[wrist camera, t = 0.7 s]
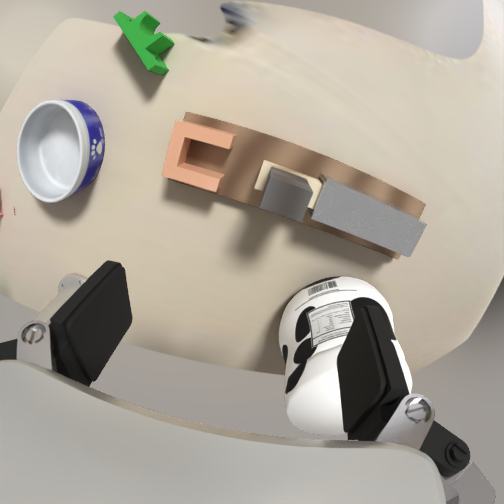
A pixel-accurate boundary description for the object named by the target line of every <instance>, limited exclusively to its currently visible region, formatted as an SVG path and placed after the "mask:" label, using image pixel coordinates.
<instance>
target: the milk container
mask: <svg viewBox="0 0 504 504" xmlns="http://www.w3.org/2000/svg"><path fill="white" fill-rule="evenodd" d="M365 305H368V306H376V307H379V308H380V311H381V313H382V316H383V319H384V321H385V324H386V327H387V330H388V332H389V335H390V338H391V341H392V342H393V344H394V346H395V349H396V352H397V355H398V358H399V361H400V364H401V367H402V370H403V373H404V376H405V380H406V383H407V386H408V390H409V393H410V394H411V388H412V379H411V375H410V370H409V368H408V365H407V364H406V362H405V357H404V354H403V351H402V349H401V347H400V345H399V343H398V341H397V339H396V336H395V332H394V320H393V316H392V312H391V309H390V307H389V305H388V303H387V302H386V300H385V299H384V297H383V296H382V295H381V294H380V293H379V292H378V291H377V290H376V289H375V288H374V287H373V286H372V285H370V284H369V283H367V282H365V281H363V280H360V279H357V278H352V277H346V276H339V277H329V278H325V279H321V280H319V281H316V282H314V283H312V284H310V285H308V286H306V287H305V288H303V289H302V290H301V291H300V292H298V293H297V294H296V295H295V296H294V297H293V298H292V299H291V301H290V302H289V303H288V305H287V306H286V308H285V310H284V313H283V316H282V319H281V322H280V328H279V344H280V349H281V352H282V355H283V358H284V360H285V364H286V369H285V389H286V390H285V406H286V411H287V414H288V417H289V419H290V421H291V423H292V424H293V425H295V426H296V427H298V428H299V429H301V430H302V431H306V432H310V433H313V434H317V435H342V434H347V433H345V432H344V430H343V419H342V408H341V398H340V388H339V379H338V371H337V356H338V354H339V352H340V349H341V347H342V345H343V343H344V341H345V339H346V337H347V334H348V332H349V330H350V328H351V325H352V323H353V321H354V318H355V316H356V314H357V311H358V310H359V309H360V308H363V307H364V306H365Z"/></svg>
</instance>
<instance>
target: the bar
mask: <svg viewBox="0 0 504 504" xmlns="http://www.w3.org/2000/svg"><path fill="white" fill-rule="evenodd" d="M323 185H324V182H323V181H320V180H318V179H315V178H313V177H310V176H307V175H305V174H302V173H299V172H297V171H294V170H291V169H289V168H286V167H283V166H280V165H277V164H274V163H271V162H269V161H266V160H264V162H263V164H262V167H261V170H260V173H259V176H258V179H257V182H256V185H255V189H258V190H261V191H263V193H262V198H261V202H260V207H259V208H261V209H264V210H267V211H270V212H273V213H275V214H278V215H281V216H284V217H287V218H290V219H293V220H295V221H298V222H302V219H303V217H304V215H305V212H306V210H307V207H309V208H311V209H314V207H315V205H316V202H317V200H318V197H319V195H320V192H321V190H322V187H323Z"/></svg>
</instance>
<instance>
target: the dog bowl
mask: <svg viewBox="0 0 504 504" xmlns="http://www.w3.org/2000/svg"><path fill="white" fill-rule="evenodd" d="M104 150H105V137H104V131H103V127H102V124H101V121H100V119H99V117H98V115H97V113H96V112H95V111H94V110H93V109H92V108H91V107H90V106H89V105H88V104H86V103H84V102H81V101H76V100H48V101H45V102H42V103H40V104H39V105H37V106H36V107H35V108H34V109H33V110H32V111H31V112H30V113H29V114H28V116H27V117H26V119H25V121H24V123H23V125H22V127H21V130H20V133H19V137H18V143H17V162H18V168H19V171H20V175H21V177H22V180H23V182H24V184H25V186H26V187H27V189H28V190H29V191H30V192H31V194H33V195H34V196H35V197H36V198H37V199H39V200H41V201H43V202H47V203H55V202H59V201H61V200H63V199H65V198H67V197H69V196H71V195H73V194H75V193H77V192H78V191H80V190H82V189H83V188H85V187H87V186H88V185H89V184H90V183H91V182H92V181H93V180H94V178H95V177H96V175H97V174H98V172H99V169H100V167H101V164H102V161H103V156H104Z"/></svg>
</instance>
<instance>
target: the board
mask: <svg viewBox="0 0 504 504" xmlns="http://www.w3.org/2000/svg"><path fill="white" fill-rule="evenodd" d="M183 121H188V122H192V123H196V124H200V125H204V126H207V127H211V128H215V129H218V130H222V131H226V132H229V133H232V134H236V135H237V137H236V140H235V143H234V146H233V148H231V149H226V148H223V147H220V146H216V145H213V144H209V143H206V142H202V141H198V140H195V139H191V142H190V146H189V149H188V153H187V157H186V160H185V163H187V164H191V165H194V166H198V167H201V168H204V169H208V170H211V171H214V172H218V173H221V174H224V178H223V182H222V185H221V187H220V188H219V189H218V191H217V192H214V191H210V190H207V189H204V188H201V187H198V186H194V185H191V184H188V183H184V182H181V181H178V180H174V179H171V178H168V179H169V180H172V181H176V182H179V183H182V184H186V185H189V186H192V187H196V188H199V189H202V190H205V191H209V192H212V193H215V194H218V195H221V196H224V197H227V198H230V199H234V200H237V201H240V202H243V203H246V204H249V205H252V206H255V207H258V208H259V207H260V202H261V198H262V193H263V191H261V190H258V189H255V185H256V182H257V179H258V176H259V173H260V170H261V167H262V164H263V162H264V160H266V161H269V162H271V163H274V164H277V165H280V166H283V167H286V168H289V169H291V170H294V171H297V172H299V173H302V174H305V175H307V176H310V177H313V178H315V179H318V180H320V181H322V180H321V178H320V175H321V173H323V174H326V175H328V176H331V177H333V178H335V179H338V180H340V181H343V182H345V183H347V184H350V185H352V186H354V187H357V188H359V189H361V190H363V191H366V192H368V193H370V194H372V195H374V196H377V197H379V198H381V199H383V200H385V201H387V202H389V203H391V204H394V205H396V206H398V207H400V208H402V209H404V210H406V211H408V212H410V213H412V214H414V215H415V216H417V217H418V218H420V216H421V214H422V212H423V210H424V207H425V205H426V204H425V203H423V202H422V201H420V200H418V199H416V198H414V197H412V196H411V195H409V194H407V193H405V192H403V191H401V190H399V189H397V188H395V187H393V186H391V185H389V184H387V183H385V182H383V181H381V180H379V179H377V178H375V177H373V176H370V175H368V174H366V173H364V172H362V171H360V170H357V169H355V168H353V167H351V166H348V165H346V164H344V163H341V162H339V161H337V160H334V159H332V158H329V157H327V156H325V155H322V154H320V153H317V152H314V151H312V150H309V149H307V148H304V147H301V146H299V145H296V144H293V143H290V142H288V141H285V140H282V139H279V138H276V137H273V136H270V135H267V134H264V133H261V132H258V131H255V130H252V129H248V128H245V127H242V126H239V125H235V124H232V123H228V122H225V121H221V120H217V119H214V118H210V117H206V116H202V115H198V114H194V113H190V112H186V113H185V116H184V119H183ZM269 212H270V211H269ZM272 213H273V212H272ZM292 220H293V219H292ZM301 223H304V224H306V225H309V226H312V227H315V228H317V229H320V230H323V231H326V232H328V233H331V234H334V235H336V236H339V237H342V238H344V239H347V240H349V241H352V242H355V243H357V244H360V245H362V246H365V247H367V248H370V249H373V250H375V251H378V252H380V253H383V254H385V255H388V256H390V257H392V258H395V259H397V260H398V259H399V257H400V255H401V254H399V253H397V252H394V251H392V250H390V249H387V248H385V247H382V246H380V245H378V244H375V243H373V242H370V241H368V240H365V239H363V238H360V237H358V236H355V235H353V234H350V233H347V232H345V231H342V230H340V229H337V228H334V227H332V226H329V225H327V224H324V223H321V222H319V221H316V220H313V219H311V217H310V215H309V212H308V209H307V210H306V212H305V215H304V217H303V219H302V222H301Z"/></svg>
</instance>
